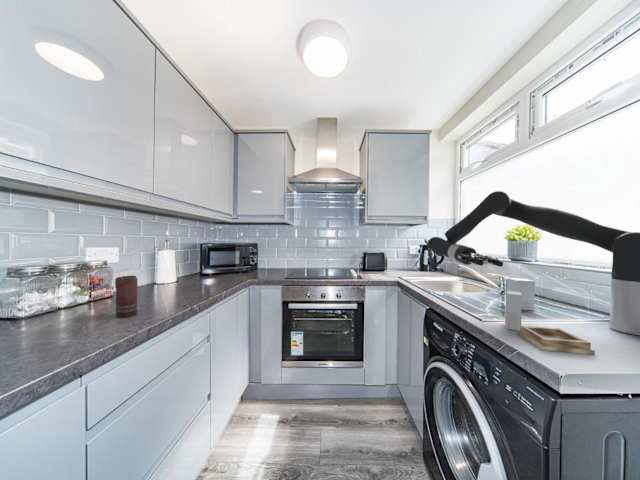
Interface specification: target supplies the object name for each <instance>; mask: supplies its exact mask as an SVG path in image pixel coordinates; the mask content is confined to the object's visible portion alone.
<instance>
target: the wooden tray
mask: <svg viewBox="0 0 640 480" xmlns="http://www.w3.org/2000/svg"><path fill="white" fill-rule="evenodd" d="M516 334H517V335H518V336H520V337H521V338H523V339H525V340H526V341H528V342H529V343H531V344H533V345H534V346H535V347H538V349H541V350H542V351H548V352H549V351H551V352H561V353H572V354H583V355H585V354H586V355H595V354H596V353H595V352H596V351H595V349H593V348H591V345H592V343H591V342H590V341H587V340H585V339H583V338H581V337H578V336H576V335H574V334H572V333H570V332H568V331H566V330H564V329H562V328H557V327H544V326H543V327H542V326H531V325H521V326H520V331H518V330H516Z"/></svg>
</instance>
